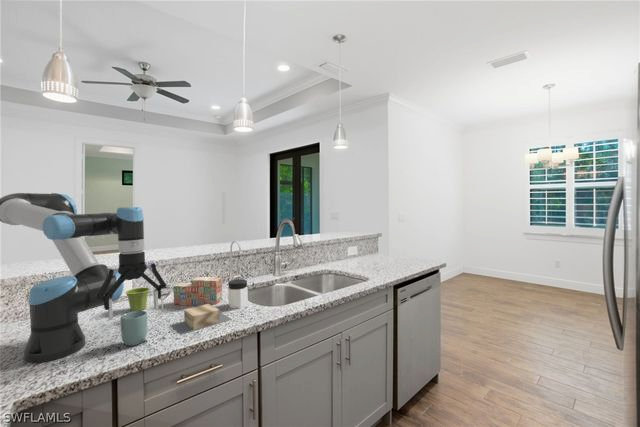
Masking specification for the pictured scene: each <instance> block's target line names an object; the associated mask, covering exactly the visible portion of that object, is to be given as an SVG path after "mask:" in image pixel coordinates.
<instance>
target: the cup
mask: <svg viewBox="0 0 640 427" xmlns="http://www.w3.org/2000/svg"><path fill="white" fill-rule="evenodd" d="M119 318H120V323H119V324H120V335H121V340H122V343H123V344H124V345H126V346H129V347H131V346H137V345H140V344H142V343H143V342H144V341H145V340H146V338H147V334H148V314H147V311H145V310H140V311H139V310H137V311H129V312H127V313H124V314H121V316H120V317H119Z"/></svg>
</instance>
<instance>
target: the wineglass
mask: <svg viewBox="0 0 640 427" xmlns="http://www.w3.org/2000/svg"><path fill="white" fill-rule="evenodd" d="M170 287H171V285H169V284H166V287H164V288H162V289H161V298H160V299H159V300H160V303H161V304H160V305H161V312H159V313H157V314H155V317H158V316H162V315H167V314H168V312H164V300H165V299H166V298H168V297H169V296H170V295H171V292H172V291H171V288H170ZM155 289H156V288H155V287H152V290H155Z"/></svg>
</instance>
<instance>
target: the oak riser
mask: <svg viewBox="0 0 640 427" xmlns="http://www.w3.org/2000/svg"><path fill="white" fill-rule="evenodd" d="M219 312H220V309H219V308H217V307H215V306H213V304H204V305H200V306H195V307H194V306H193V307H189V308H186V309H183V316H184V317H183V318H184V320H183V321H184V322H185V323H186V324H187V325H189V326H190V327H191V328H192V329H194V330H195V329H198V328H202V327H205V326H209V325H212V324H215V323H219V322H220V317H219ZM219 324H220V323H219ZM209 327H210V326H209Z"/></svg>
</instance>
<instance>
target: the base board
mask: <svg viewBox="0 0 640 427" xmlns="http://www.w3.org/2000/svg"><path fill="white" fill-rule="evenodd" d="M219 317H220V322H219V323H215V324H212V325H209V326H205V327H202V328H198V329H195V330H194V329H192V328H191V327H190V326H189V325H187V324H186V323H185V322H184V320H183V321H180V322H177V323H173V324H170V326H171V328H173V329H174V330H175V331H176V332H177V333H178V334H179V335H186V334H188V333H191V332H196V331H199V330H202V329H205V328H209V327H212V326H216V325H220V324H222V323H226V322H229V321H232V320H233V319H232V318H231V317H229V316H227V315H226V314H224V313H222V312H221V311H219Z"/></svg>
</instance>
